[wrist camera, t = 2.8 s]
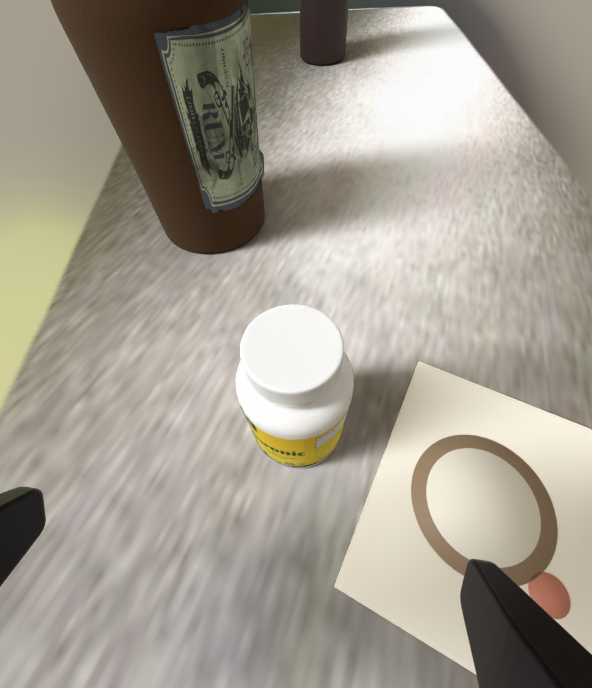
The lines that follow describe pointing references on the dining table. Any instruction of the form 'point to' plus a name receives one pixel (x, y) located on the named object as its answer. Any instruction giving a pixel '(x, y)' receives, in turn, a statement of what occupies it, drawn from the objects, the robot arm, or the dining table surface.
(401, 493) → the card
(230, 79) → the brown rum bottle
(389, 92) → the dining table surface
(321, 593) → the dining table surface
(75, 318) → the dining table surface
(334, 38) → the vinegar
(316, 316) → the supplement bottle
